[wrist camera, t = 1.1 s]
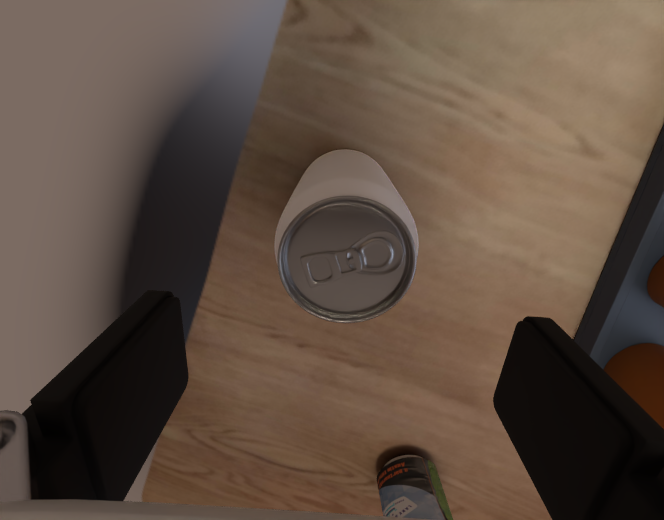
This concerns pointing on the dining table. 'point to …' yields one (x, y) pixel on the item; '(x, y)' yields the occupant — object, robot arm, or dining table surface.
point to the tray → (630, 275)
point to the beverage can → (412, 489)
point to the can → (346, 240)
